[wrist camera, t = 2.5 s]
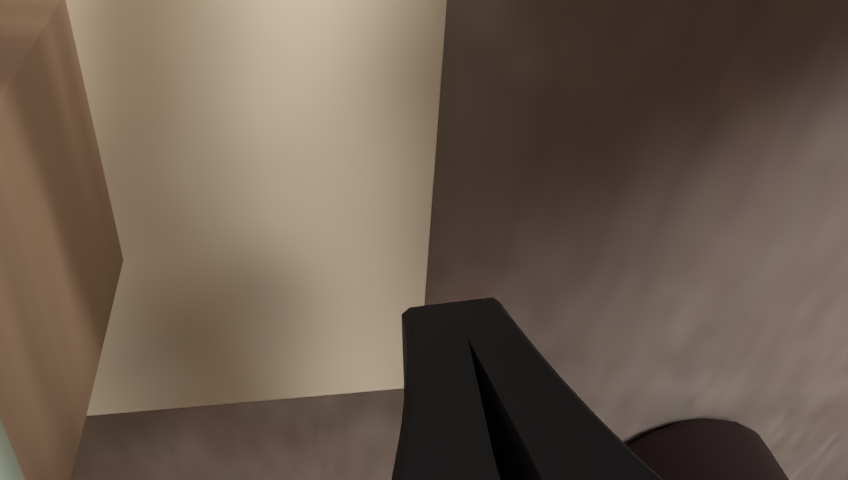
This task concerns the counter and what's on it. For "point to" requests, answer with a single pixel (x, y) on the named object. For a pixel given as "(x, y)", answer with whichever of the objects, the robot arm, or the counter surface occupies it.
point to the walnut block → (49, 244)
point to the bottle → (707, 452)
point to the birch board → (261, 192)
